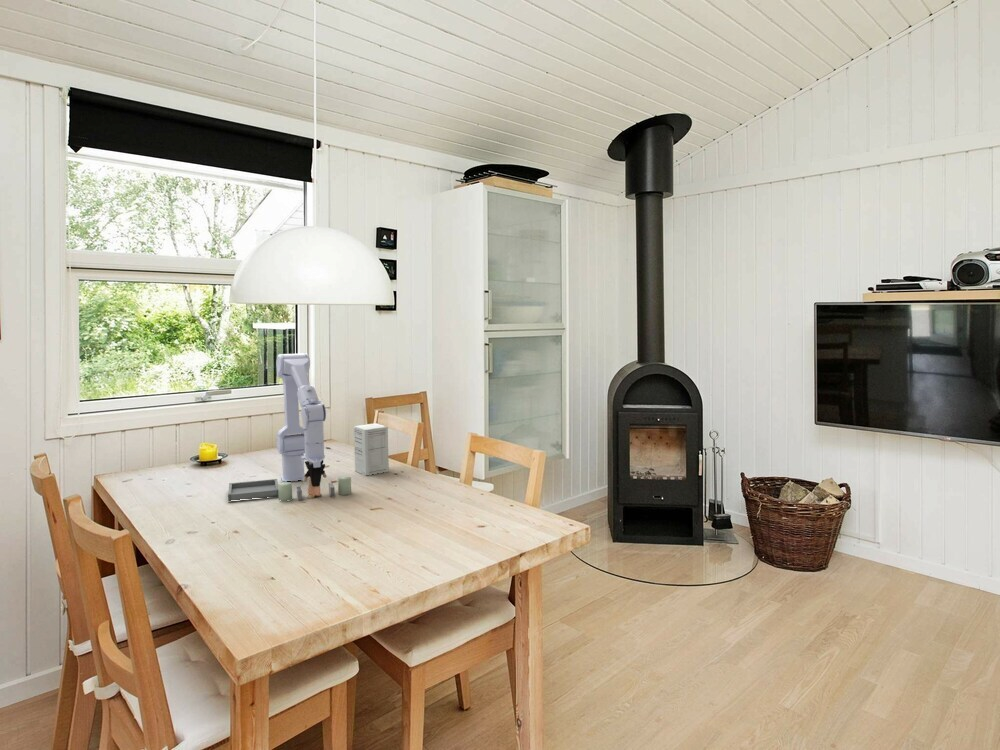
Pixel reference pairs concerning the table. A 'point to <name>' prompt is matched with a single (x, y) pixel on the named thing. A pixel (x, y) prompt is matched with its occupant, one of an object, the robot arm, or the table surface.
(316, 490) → the grandmother figurine
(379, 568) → the table surface
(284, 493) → the pale green rounded block
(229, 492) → the tray
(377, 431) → the supplement box
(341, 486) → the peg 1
